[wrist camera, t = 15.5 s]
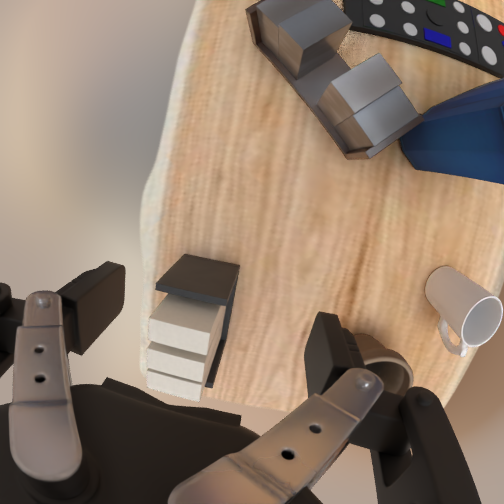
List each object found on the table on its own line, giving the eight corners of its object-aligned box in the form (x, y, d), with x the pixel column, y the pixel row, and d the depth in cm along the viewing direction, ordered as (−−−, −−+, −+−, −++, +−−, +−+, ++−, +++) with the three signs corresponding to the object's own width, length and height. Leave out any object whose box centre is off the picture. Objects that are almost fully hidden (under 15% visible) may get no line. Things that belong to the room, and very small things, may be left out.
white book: (187, 269, 41) (148, 317, 28) (231, 278, 41) (210, 333, 27) (185, 286, 42) (147, 340, 28) (228, 296, 42) (206, 355, 28)
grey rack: (252, 42, 33) (242, 0, 21) (299, 14, 31) (305, -32, 20) (347, 159, 36) (375, 158, 25) (392, 128, 34) (433, 117, 23)
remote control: (515, 86, 29) (522, 84, 27) (344, 28, 31) (347, 23, 29) (507, 30, 26) (513, 27, 24) (341, -30, 28) (344, -37, 26)
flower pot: (404, 350, 43) (427, 390, 33) (347, 390, 46) (358, 434, 36) (368, 303, 41) (389, 340, 31) (305, 349, 44) (310, 394, 34)
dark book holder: (184, 253, 41) (140, 298, 27) (240, 265, 41) (220, 318, 27) (176, 330, 45) (140, 392, 31) (226, 341, 45) (205, 411, 30)
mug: (430, 261, 39) (473, 294, 27) (464, 266, 38) (509, 297, 27) (411, 324, 42) (443, 369, 30) (445, 326, 41) (480, 368, 30)
